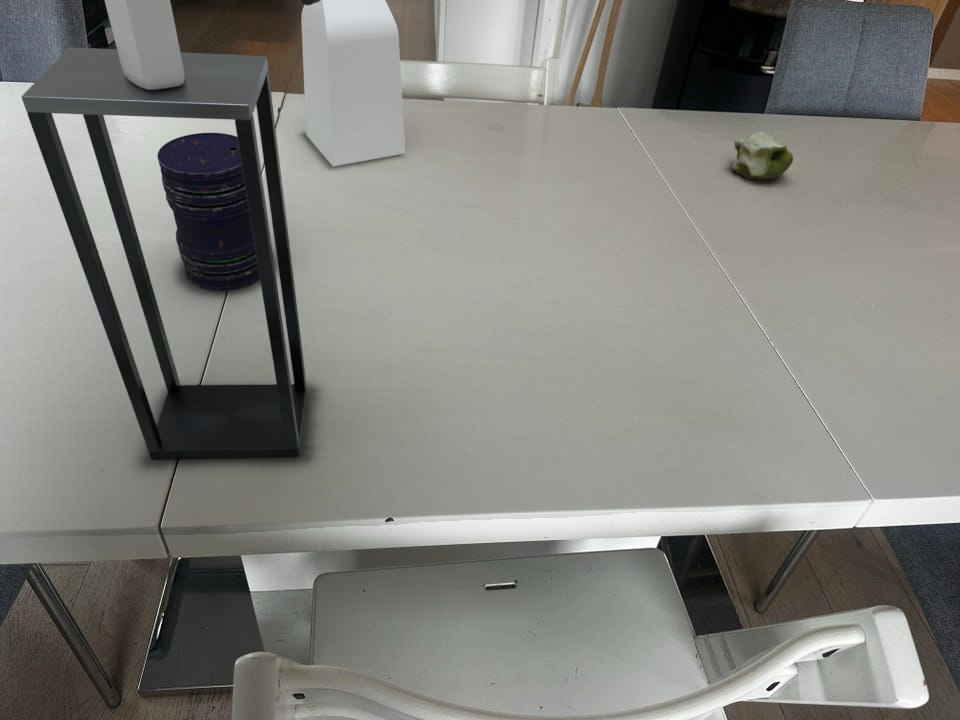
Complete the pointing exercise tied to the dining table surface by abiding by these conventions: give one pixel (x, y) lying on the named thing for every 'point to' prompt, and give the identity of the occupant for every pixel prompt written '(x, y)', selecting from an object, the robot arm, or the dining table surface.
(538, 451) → the dining table surface
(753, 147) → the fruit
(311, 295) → the dining table surface
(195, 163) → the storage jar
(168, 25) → the eye dropper bottle
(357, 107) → the milk
